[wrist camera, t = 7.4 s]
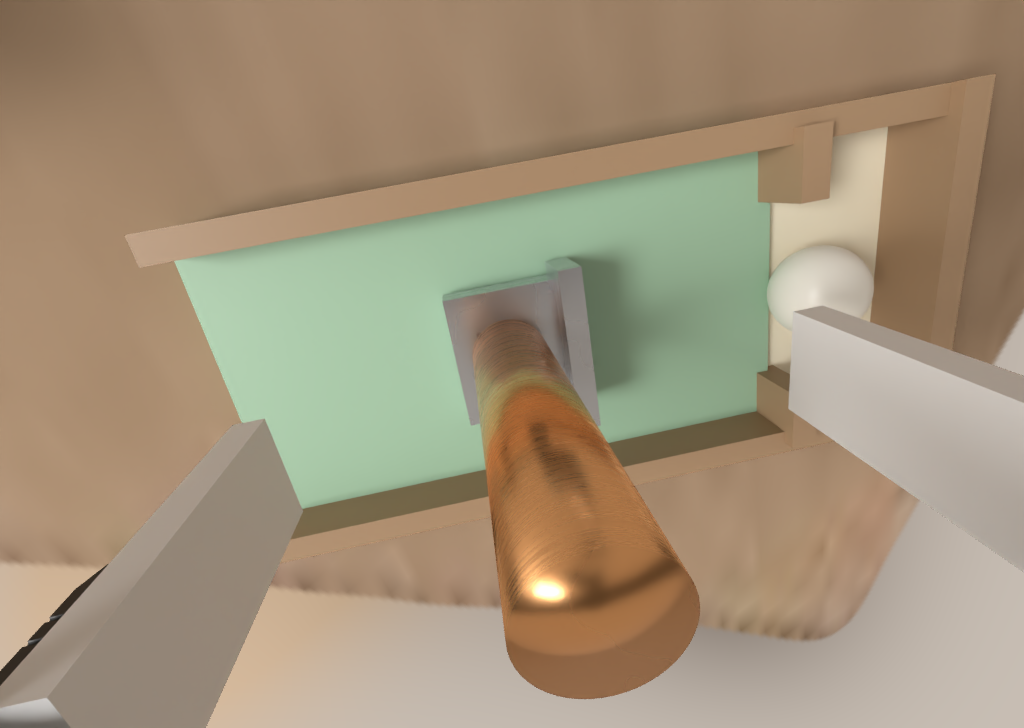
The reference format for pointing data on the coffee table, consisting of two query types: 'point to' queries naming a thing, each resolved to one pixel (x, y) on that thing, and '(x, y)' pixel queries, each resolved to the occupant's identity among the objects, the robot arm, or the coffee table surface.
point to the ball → (820, 283)
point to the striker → (564, 497)
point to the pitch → (608, 293)
